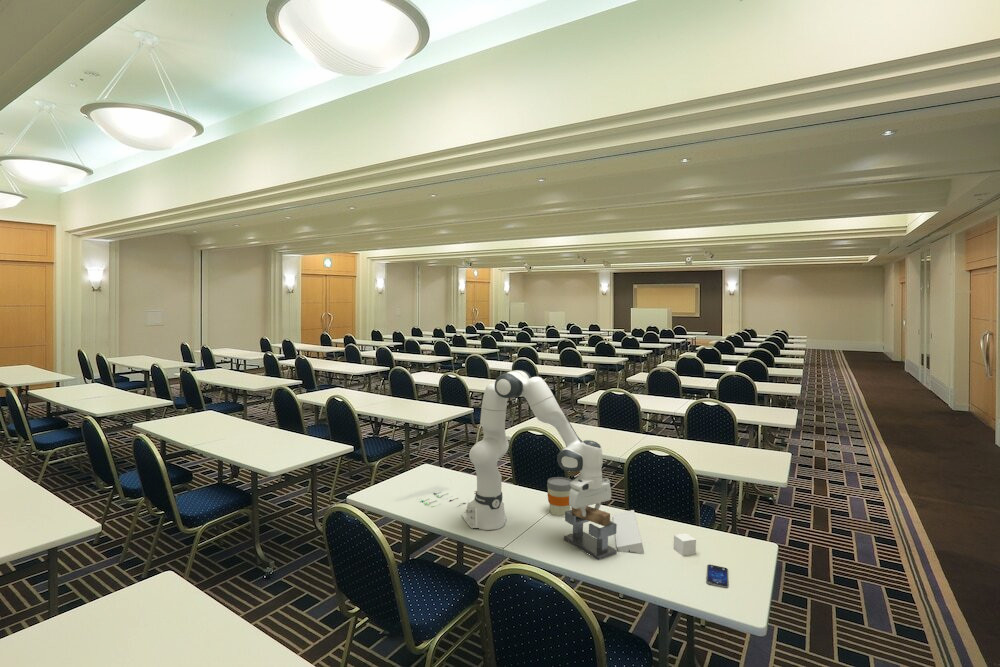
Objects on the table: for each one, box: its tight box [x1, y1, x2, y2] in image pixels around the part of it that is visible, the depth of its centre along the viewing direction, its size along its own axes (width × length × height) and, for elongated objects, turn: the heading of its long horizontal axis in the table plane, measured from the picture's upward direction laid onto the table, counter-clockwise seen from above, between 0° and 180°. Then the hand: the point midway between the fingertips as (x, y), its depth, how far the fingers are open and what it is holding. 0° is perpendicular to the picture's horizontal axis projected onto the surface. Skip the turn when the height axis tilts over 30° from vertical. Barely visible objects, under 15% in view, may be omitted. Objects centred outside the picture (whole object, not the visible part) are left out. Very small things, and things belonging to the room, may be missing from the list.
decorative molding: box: [612, 509, 645, 555], centre depth 222 cm, size 34×5×10 cm
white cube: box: [673, 532, 697, 557], centre depth 207 cm, size 6×6×6 cm
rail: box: [571, 505, 611, 527], centre depth 209 cm, size 16×4×4 cm, turn 45°
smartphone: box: [705, 564, 730, 589], centre depth 187 cm, size 7×1×15 cm
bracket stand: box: [563, 509, 618, 561], centre depth 210 cm, size 21×10×12 cm, turn 33°
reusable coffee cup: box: [546, 476, 573, 517], centre depth 245 cm, size 13×12×15 cm
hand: (590, 514), depth 209 cm, fingers closed on rail, 4 cm apart
